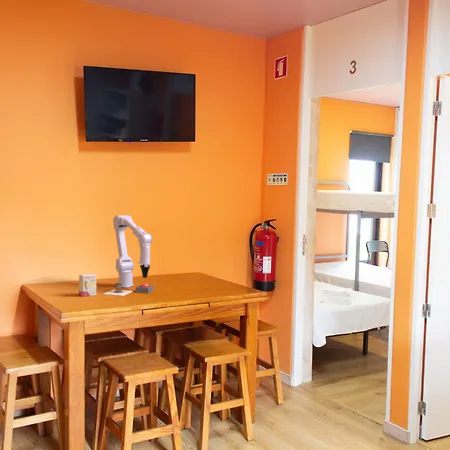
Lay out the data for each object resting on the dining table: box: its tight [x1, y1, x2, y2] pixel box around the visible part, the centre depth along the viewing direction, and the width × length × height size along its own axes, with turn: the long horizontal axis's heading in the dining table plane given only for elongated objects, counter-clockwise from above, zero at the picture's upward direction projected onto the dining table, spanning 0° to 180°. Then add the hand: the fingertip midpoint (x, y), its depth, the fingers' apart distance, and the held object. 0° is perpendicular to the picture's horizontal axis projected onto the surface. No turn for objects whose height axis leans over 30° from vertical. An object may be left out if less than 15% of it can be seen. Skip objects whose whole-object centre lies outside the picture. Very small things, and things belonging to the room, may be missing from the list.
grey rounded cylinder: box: [114, 282, 123, 293], centre depth 314 cm, size 4×4×5 cm
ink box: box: [78, 273, 97, 298], centre depth 306 cm, size 9×5×12 cm, turn 131°
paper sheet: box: [102, 288, 134, 297], centre depth 314 cm, size 14×12×1 cm
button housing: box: [135, 284, 154, 294], centre depth 320 cm, size 8×8×3 cm
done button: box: [140, 282, 149, 287], centre depth 320 cm, size 4×4×2 cm
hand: (144, 277), depth 320 cm, fingers closed
